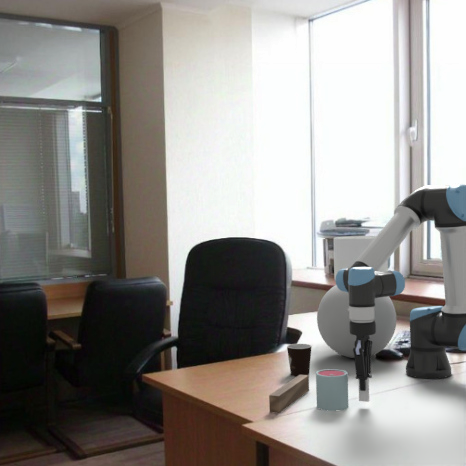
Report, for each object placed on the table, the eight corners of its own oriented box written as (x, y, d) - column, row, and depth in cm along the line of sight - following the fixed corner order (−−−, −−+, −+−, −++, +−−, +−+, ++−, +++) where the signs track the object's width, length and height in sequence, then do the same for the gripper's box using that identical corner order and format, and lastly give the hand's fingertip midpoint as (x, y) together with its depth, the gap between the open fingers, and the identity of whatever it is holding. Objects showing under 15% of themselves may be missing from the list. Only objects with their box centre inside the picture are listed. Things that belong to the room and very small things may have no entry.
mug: (340, 412, 204) (340, 377, 203) (311, 408, 209) (310, 374, 208) (359, 400, 215) (358, 367, 215) (330, 397, 220) (330, 364, 220)
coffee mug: (311, 377, 245) (310, 348, 245) (286, 377, 247) (285, 348, 246) (314, 369, 256) (313, 342, 256) (290, 369, 258) (289, 341, 258)
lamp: (397, 337, 312) (394, 235, 310) (377, 347, 292) (375, 238, 291) (348, 333, 324) (346, 235, 322) (327, 342, 305) (324, 238, 303)
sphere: (314, 350, 290) (313, 276, 289) (389, 348, 289) (387, 274, 288) (321, 367, 260) (319, 285, 259) (404, 365, 259) (402, 283, 258)
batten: (309, 390, 228) (308, 375, 228) (279, 413, 205) (278, 396, 205) (300, 389, 230) (299, 374, 229) (269, 412, 206) (269, 395, 206)
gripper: (355, 316, 215) (357, 393, 216) (343, 323, 203) (345, 405, 204) (380, 317, 212) (382, 396, 213) (369, 324, 200) (371, 407, 201)
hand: (364, 400), depth 208 cm, fingers closed
